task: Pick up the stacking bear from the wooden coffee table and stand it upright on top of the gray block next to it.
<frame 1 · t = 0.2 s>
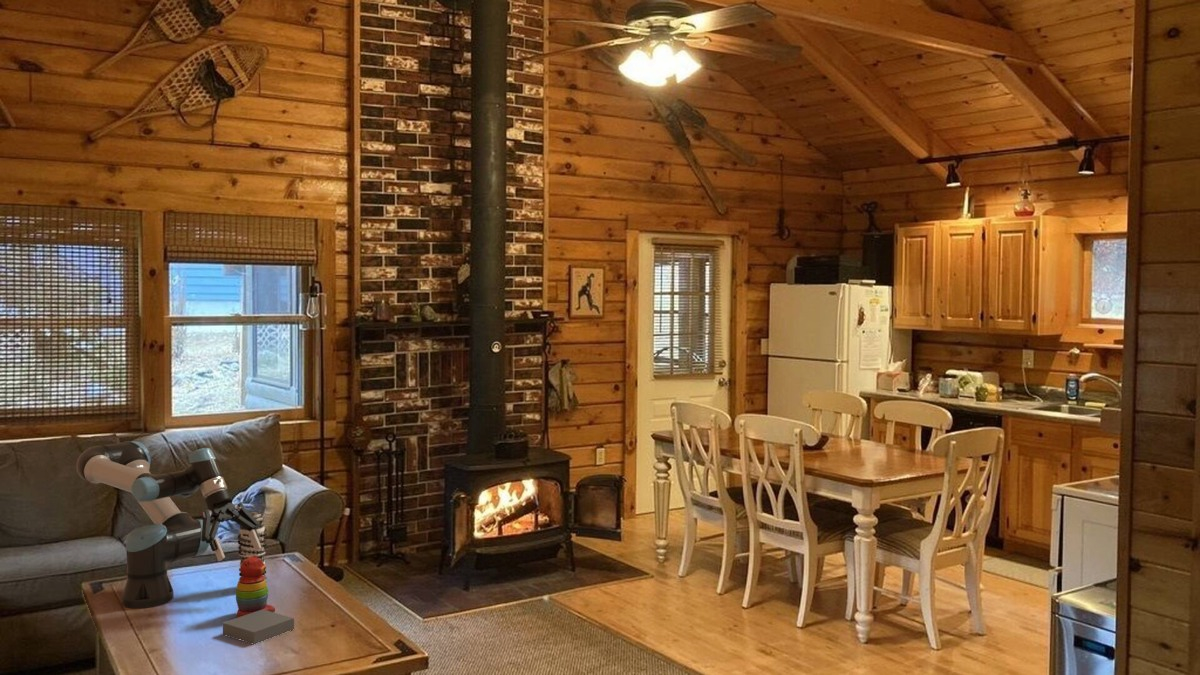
hand: (240, 554, 308), 16 cm above the table, tool tilted 35°, fingers open, 13 cm apart
stacking bear: (253, 615, 301), on the table
decorative candle: (253, 588, 327), on the table
gray block: (258, 633, 286), on the table
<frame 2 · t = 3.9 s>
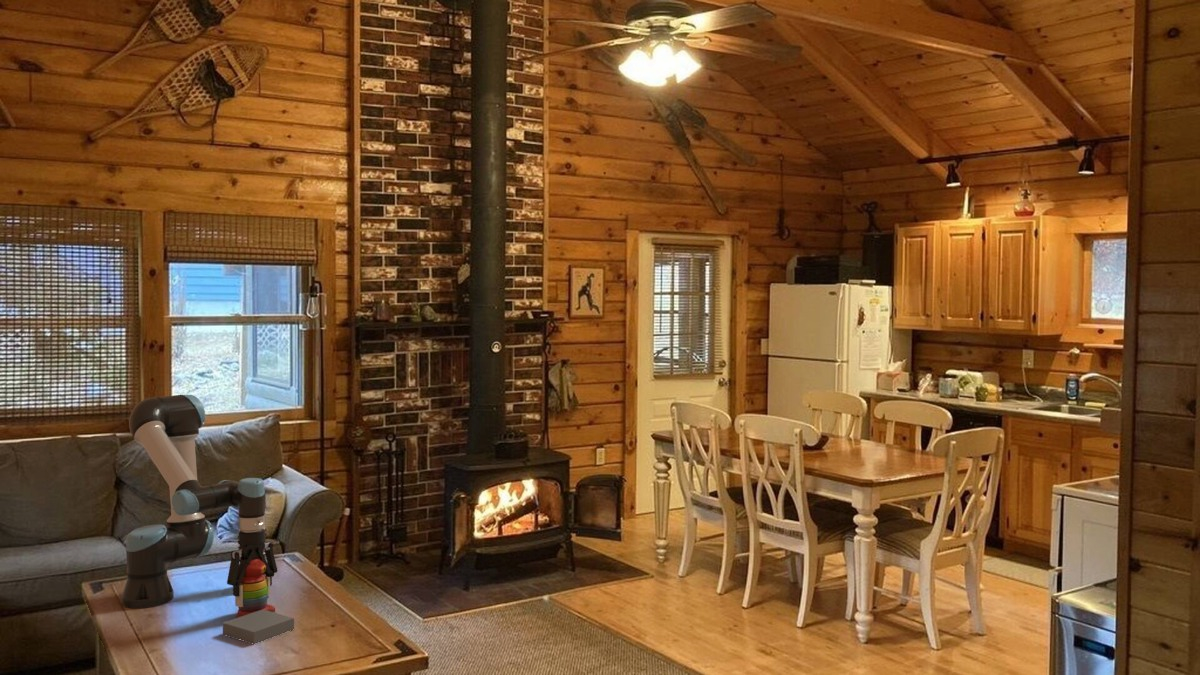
hand: (253, 601, 301), 4 cm above the table, tool pointing down, fingers closed on stacking bear, 9 cm apart
stacking bear: (253, 615, 301), on the table, touching gripper
everything else where it was.
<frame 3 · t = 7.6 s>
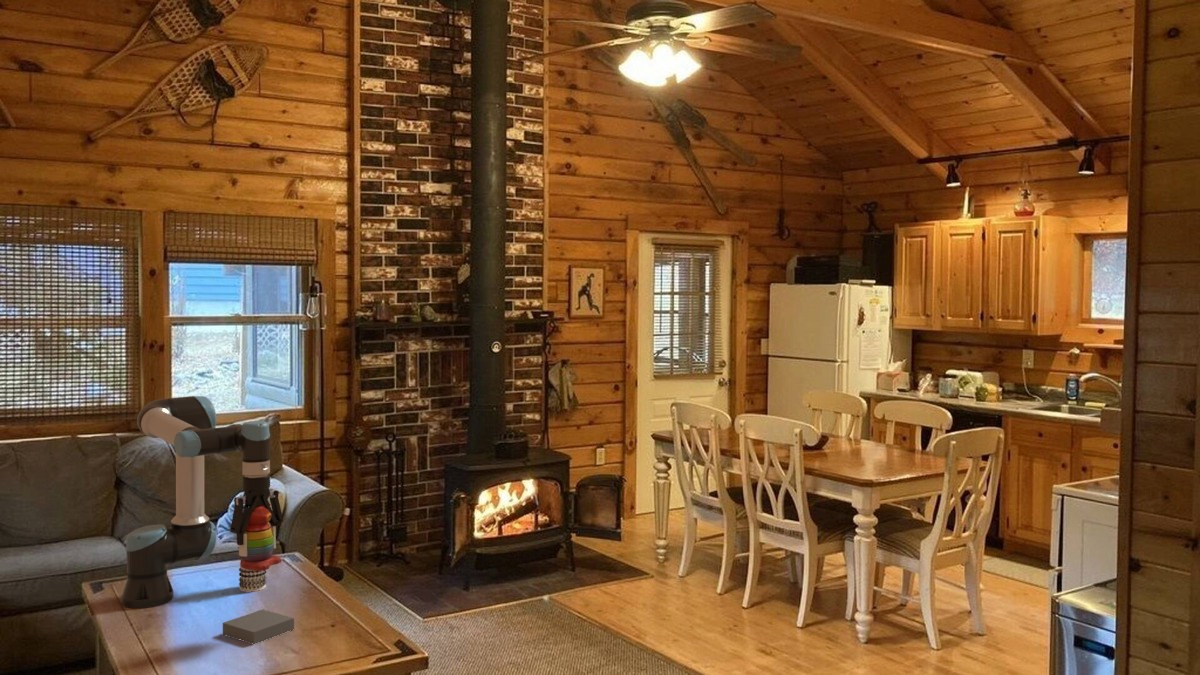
hand: (257, 551, 285), 24 cm above the table, tool pointing down, fingers closed on stacking bear, 9 cm apart
stacking bear: (258, 566, 285), point 20 cm above the table, touching gripper
everything else where it was.
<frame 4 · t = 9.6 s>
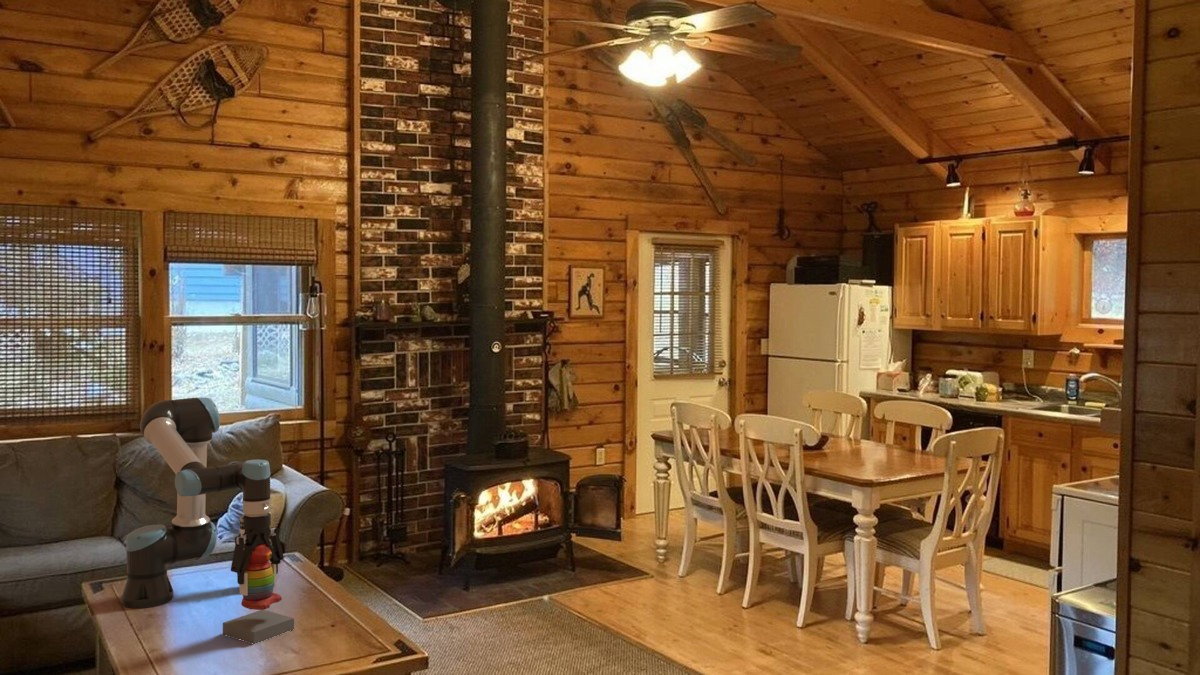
hand: (258, 590, 285), 13 cm above the table, tool pointing down, fingers closed on stacking bear, 9 cm apart
stacking bear: (258, 604, 286), point 8 cm above the table, touching gripper
everything else where it was.
when the fingers open (9 cm above the table, at t = 11.2 s): stacking bear drops 2 cm, resting on gray block.
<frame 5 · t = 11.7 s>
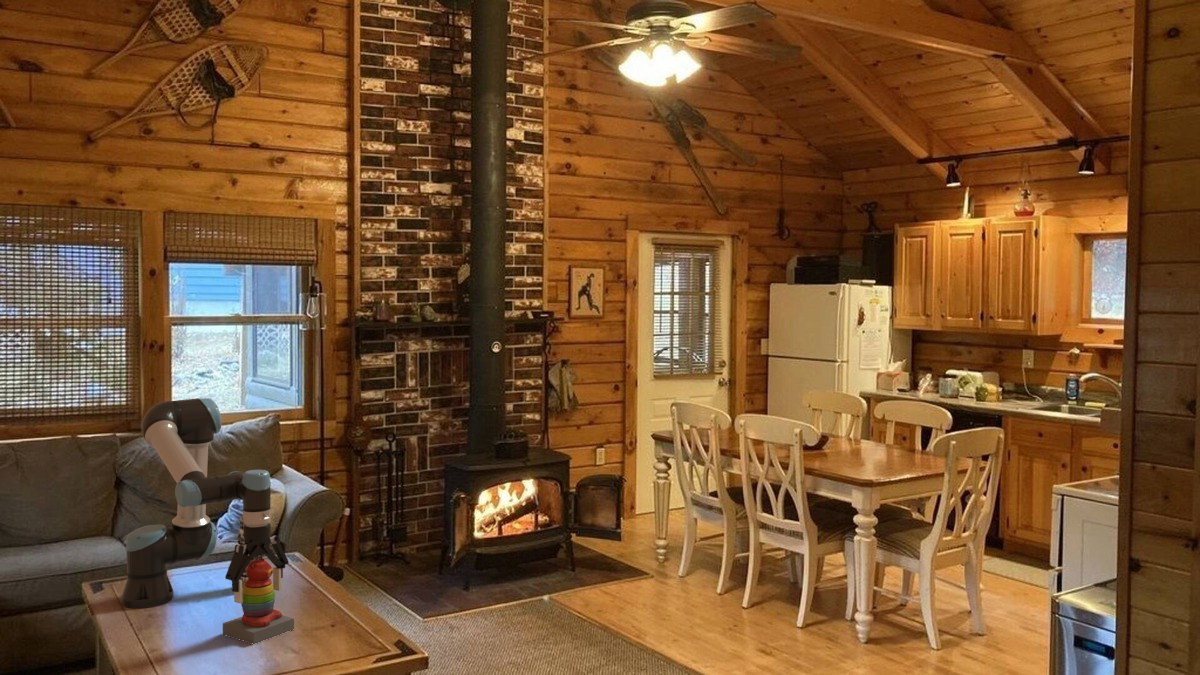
hand: (258, 596, 285), 11 cm above the table, tool pointing down, fingers open, 13 cm apart
stacking bear: (259, 620, 286), point 3 cm above the table, touching gray block
gray block: (258, 634, 286), on the table, touching stacking bear
everything else where it was.
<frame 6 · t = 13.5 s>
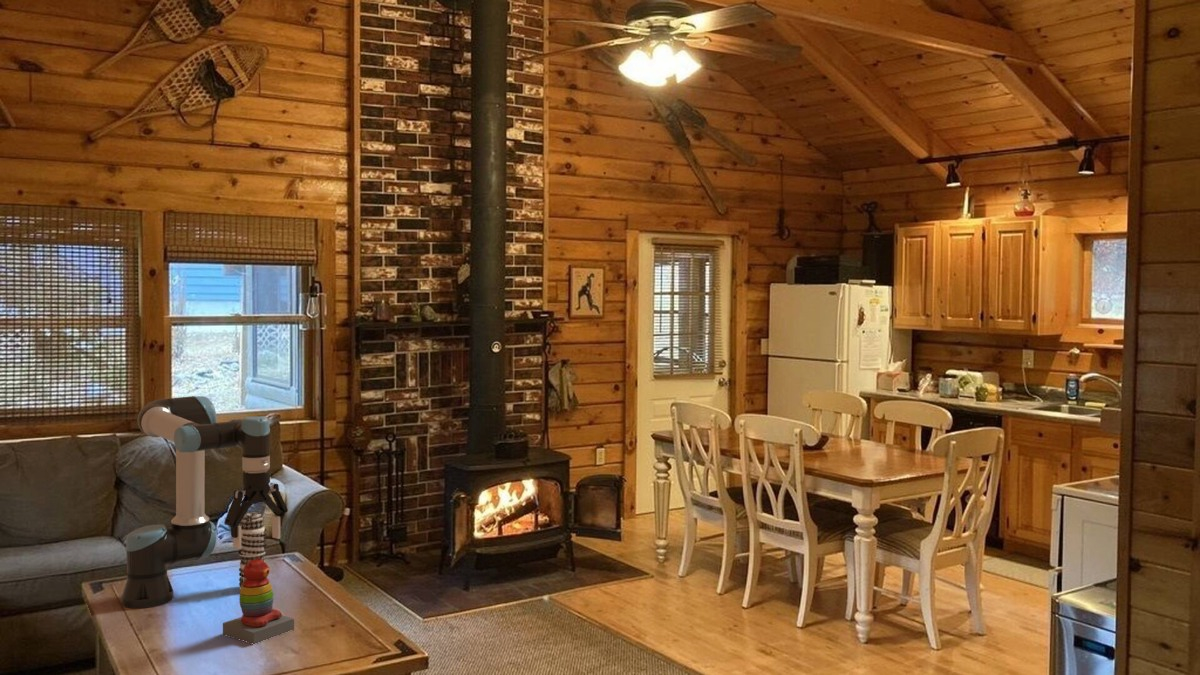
hand: (257, 543, 285), 26 cm above the table, tool pointing down, fingers open, 13 cm apart
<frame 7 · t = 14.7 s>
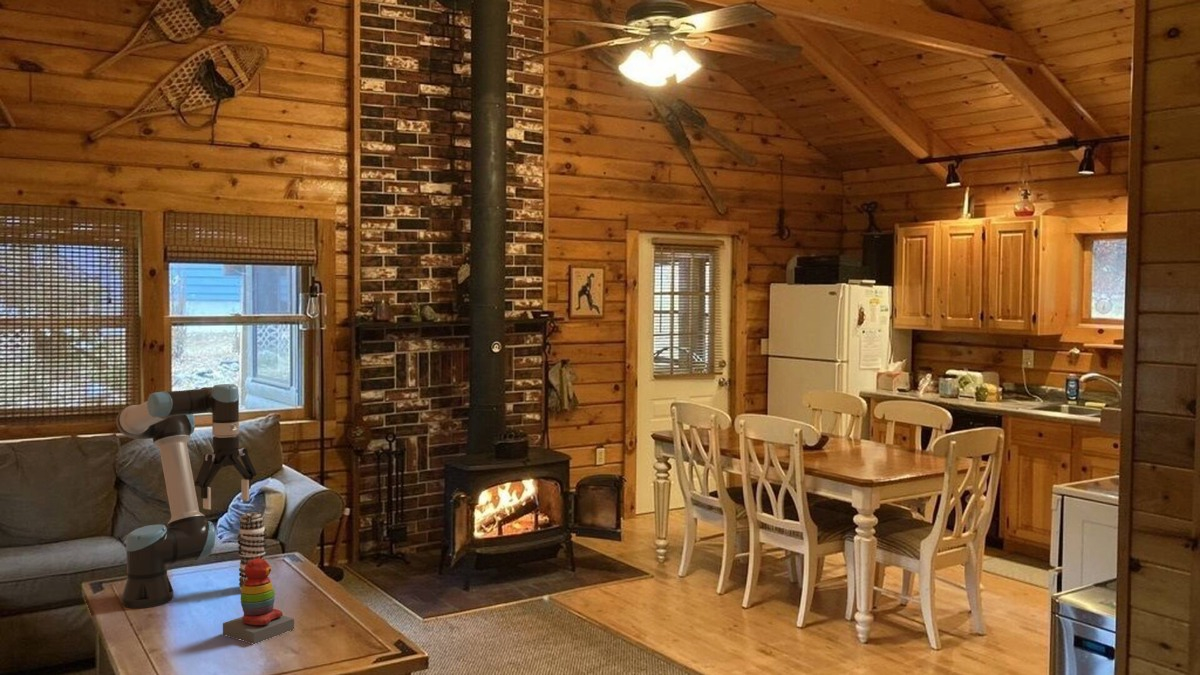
hand: (226, 504, 299), 34 cm above the table, tool pointing down, fingers open, 13 cm apart
stacking bear: (259, 620, 286), point 3 cm above the table
gray block: (258, 634, 286), on the table
everything else where it was.
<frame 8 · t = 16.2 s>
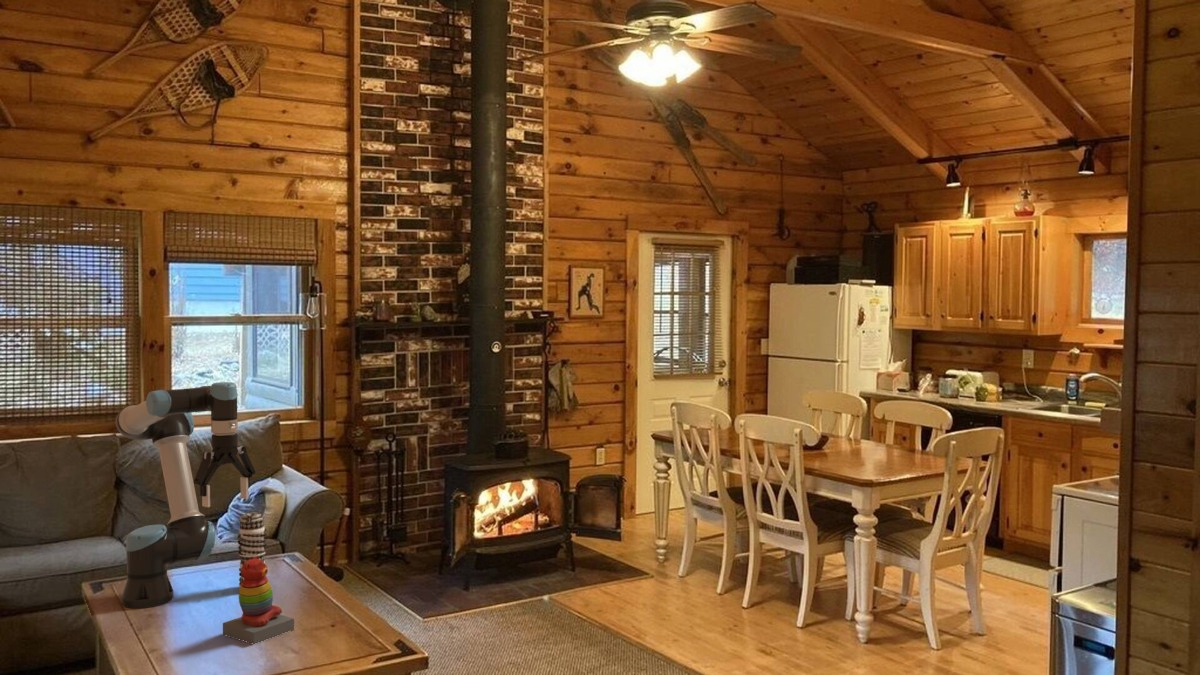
hand: (225, 502, 300), 35 cm above the table, tool pointing down, fingers open, 13 cm apart
stacking bear: (259, 618, 287), point 4 cm above the table, touching gray block
gray block: (258, 634, 286), on the table, touching stacking bear
everything else where it was.
at the end: stacking bear inside the target area on the gray block (1.1 cm from its centre), point 4.4 cm above the gray block's base; stacking bear tilted 7°; the gripper is holding nothing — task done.
